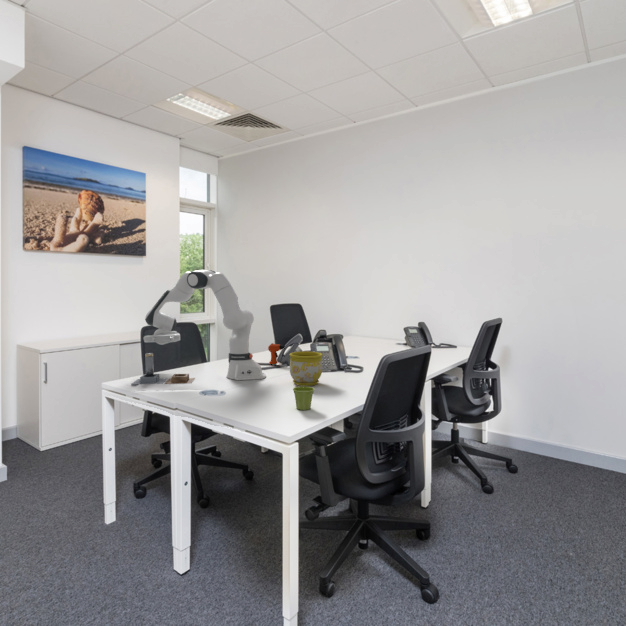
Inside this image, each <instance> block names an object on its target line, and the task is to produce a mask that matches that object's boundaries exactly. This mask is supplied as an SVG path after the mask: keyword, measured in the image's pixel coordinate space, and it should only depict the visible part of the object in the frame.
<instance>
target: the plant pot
mask: <svg viewBox="0 0 626 626" xmlns="http://www.w3.org/2000/svg"><path fill="white" fill-rule="evenodd" d="M292 391H293V393H294V398H295V399H294V400H295V405H296V409H297V410H300V411H308V410H311V406H312V400H313V394H314V391H315V388H314V387H313V386H295V387H293V388H292Z"/></svg>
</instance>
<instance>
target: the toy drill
mask: <svg viewBox="0 0 626 626" xmlns="http://www.w3.org/2000/svg"><path fill="white" fill-rule="evenodd" d="M285 346H286V345H283V344H280V343H279V344H278V343H277V344H276V343H271V344H269V345H268V347H267V350H268V352H270V361H269V363H270V364H276V363H277V362H278V357H279V355H278V352H279V351H282V350H284V349H285V350H286V348H284V347H285ZM283 348H284V349H283ZM269 363H268V364H269Z"/></svg>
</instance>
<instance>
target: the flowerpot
mask: <svg viewBox="0 0 626 626" xmlns="http://www.w3.org/2000/svg"><path fill="white" fill-rule="evenodd" d="M289 357H290V362H289V373H290V377H291V378H292V379H293V380H292V382H293V383H294V385H296V386H298V387H313V386H317V385H318V383H319V382H320V381H319V380H320V378H321V377H322V372H323V362H322V361H323V359H322V357H323V352H322V353H321V352H318V351H305V350H303V351H294V352H290V353H289Z"/></svg>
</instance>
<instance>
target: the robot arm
mask: <svg viewBox="0 0 626 626" xmlns="http://www.w3.org/2000/svg"><path fill="white" fill-rule="evenodd" d="M196 289H197V290H198V289H199V290H200V289H201V290H202V289H203V290H206V289H211V291H212V292H213V295H214V296H215V298H216V301H217V302H218V303H219V306H220V308H221V311H222V315H223V319H222V323H223V325H224V327H225V328H226V329H229V330H232V332H231V336H230V338H229V340H228V341H229V343H228V345H229V346H228V347H229V350H228V352H229V353H228V355H227V357H228V358H227V359H228V368H227V369H228V370H227V374H226V378H227V379H230V380H235V381H247V380H249V381H250V380H262V379H265V378H266V377H267V376H266V373H264V372H263V370H262V369H263V368H262V366H261V364H259V363H258V362H256V361H255V360H254V359H253V357H254V356H253V354H252V353H251V352H249V351H250V350H249V349H250V346H249V340H250V334H251V330H252V325H253V323H254V321H255V320H254V318H255V317H254V314H253V313H252V312H251V311H250V310H247V309H242V308H240V304H239V298H238V295H237V293H236V291H235V289H234V288H233V285H232V284H231V282H230V281H229V279H228V278H227V277H226V275H225V274H224V273H222V272H216V271H214V270H210V269H199V270H193V271H185V272H184V273H182V275H181V276H180V277H179V279H178V280H177V283H176V284H175V286H174V287H173V288H171V289H167V290H166V291H165V292H164V293H163V294H162V295H161V297H159V299H158V300H157V301H156V303H155V304H154V305H153V307H152V308H151V309H150V310H149V311H148V312H147V313H146V315H145V317H144V320H145V322H146V324H147V325H148V326H150V327H155V328H157V329H156V330H155V331H154V333H153V334H152V335H149V334H148V335H143V338H142V340H143V342H144V343H156V344H157V345H161V346H163V345H167V344H169V343H170V344H171V343H176V342H179V341H181V334H180V332H178V331H177V330H176V328H177V319H176V317H173V316H171V315H168V314H166V313H164V312H161V310H162V308H163V307H164V305H165V304H166V303H172V302H173V303H186V302H187V301H189V300H190V299H191V297H193V294H194V292H195V290H196Z"/></svg>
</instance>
